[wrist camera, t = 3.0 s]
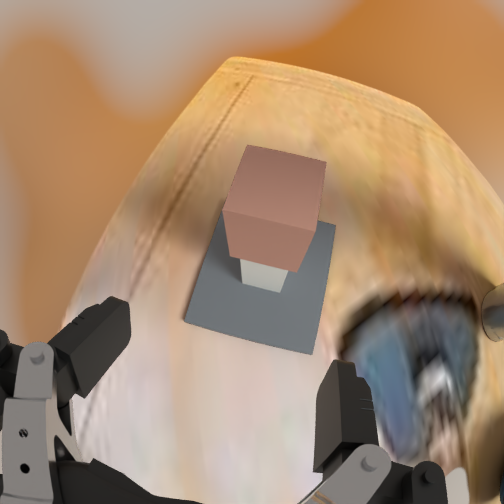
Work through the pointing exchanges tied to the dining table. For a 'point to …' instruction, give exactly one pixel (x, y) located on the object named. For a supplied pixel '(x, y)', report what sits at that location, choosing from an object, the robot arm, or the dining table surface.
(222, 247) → the square base with post
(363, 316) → the dining table surface
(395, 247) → the dining table surface
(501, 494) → the decorative sphere
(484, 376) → the dining table surface
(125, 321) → the robot arm
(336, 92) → the dining table surface
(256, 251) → the cap
